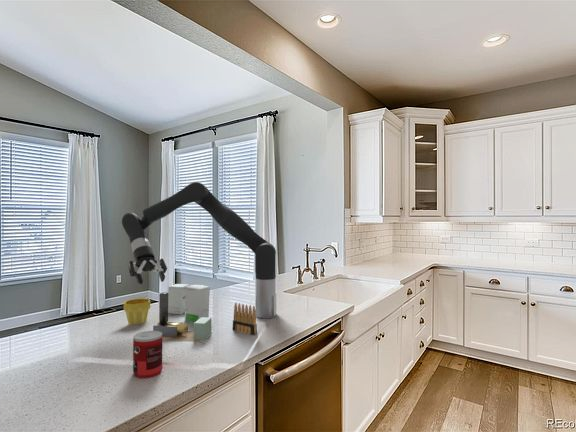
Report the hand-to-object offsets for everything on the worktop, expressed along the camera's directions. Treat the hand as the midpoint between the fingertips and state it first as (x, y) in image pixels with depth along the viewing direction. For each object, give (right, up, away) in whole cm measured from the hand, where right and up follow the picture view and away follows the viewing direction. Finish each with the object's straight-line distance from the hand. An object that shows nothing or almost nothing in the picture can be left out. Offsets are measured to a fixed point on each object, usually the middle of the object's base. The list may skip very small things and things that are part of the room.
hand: (152, 281), depth 135 cm
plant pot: (-9, -19, +7) cm, 23 cm away
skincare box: (+15, -20, +10) cm, 27 cm away
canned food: (+13, -20, -36) cm, 43 cm away
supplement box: (+2, -19, +25) cm, 32 cm away
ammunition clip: (+38, -20, -5) cm, 43 cm away
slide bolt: (+11, -18, -9) cm, 23 cm away
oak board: (+15, -19, -9) cm, 26 cm away
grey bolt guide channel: (+9, -18, -9) cm, 22 cm away
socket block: (+23, -18, -10) cm, 31 cm away
